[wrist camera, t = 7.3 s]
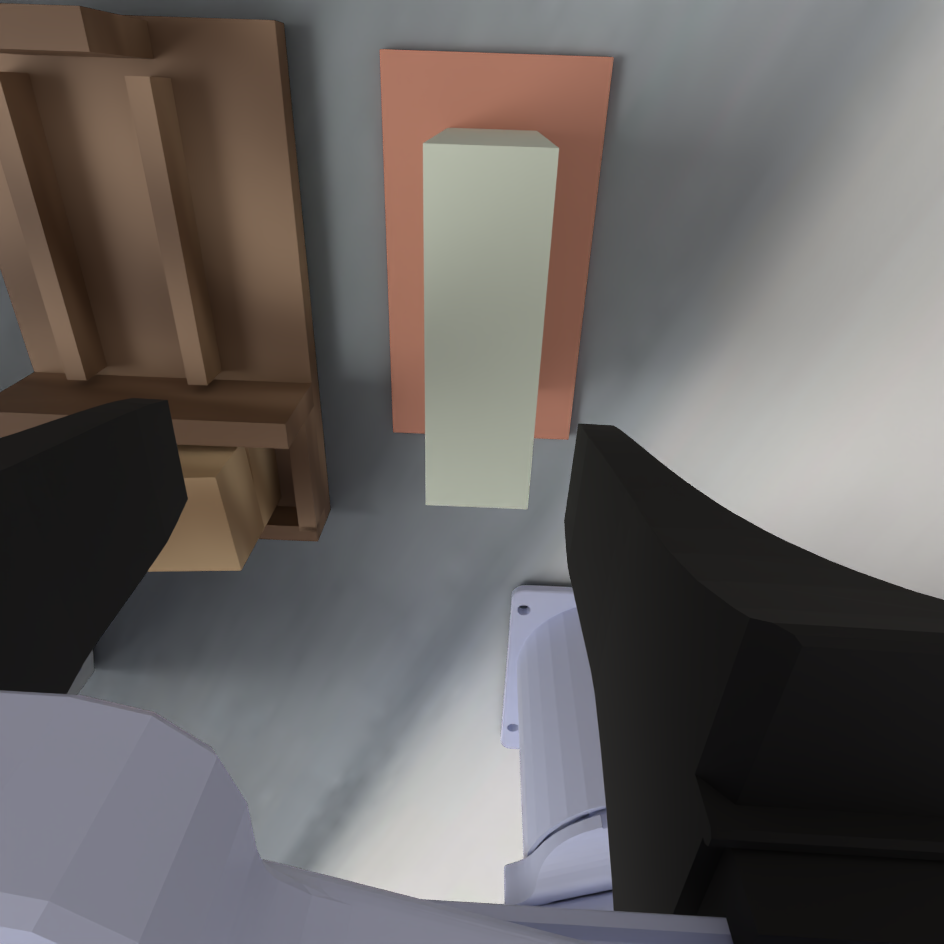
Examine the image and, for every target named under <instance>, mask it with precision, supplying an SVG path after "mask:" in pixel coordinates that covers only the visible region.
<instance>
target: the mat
mask: <svg viewBox="0 0 944 944" xmlns="http://www.w3.org/2000/svg"><path fill="white" fill-rule="evenodd" d="M613 58H614V57H594V56H565V55H535V54H506V53H477V52H447V51H418V50H388V49H380V72H381V100H382V129H383V157H384V186H385V214H386V243H387V271H388V300H389V328H390V357H391V385H392V414H393V432H397V433H421V434H425V359H424V231H423V143H424V142H426V141H427V140H429V139H431V138H432V137H434V136H435V135H437V134H439V133H440V132H442V131H443V130H445V129H447V128H474V129H503V130H532V131H538V132H539V133H541V134H542V135H543V136H544V137H546V138H547V139H548V140H549V141H551V142H552V143H553V144H555V145H556V146H557V147H558V148H559V156H558V167H557V179H556V190H555V201H554V213H553V224H552V236H551V247H550V259H549V270H548V282H547V293H546V305H545V316H544V327H543V339H542V350H541V362H540V373H539V385H538V396H537V408H536V419H535V431H534V438H542V439H567V440H568V438H569V430H570V422H571V413H572V405H573V396H574V388H575V379H576V371H577V362H578V354H579V345H580V337H581V329H582V320H583V312H584V303H585V295H586V286H587V278H588V269H589V261H590V253H591V244H592V236H593V227H594V219H595V210H596V202H597V193H598V185H599V176H600V168H601V160H602V151H603V143H604V134H605V126H606V117H607V109H608V100H609V92H610V83H611V75H612V67H613Z"/></svg>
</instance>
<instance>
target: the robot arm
mask: <svg viewBox="0 0 944 944" xmlns="http://www.w3.org/2000/svg"><path fill="white" fill-rule="evenodd" d="M187 500H188V497H187V492H186V487H185V482H184V477H183V472H182V467H181V462H180V457H179V453H178V448H177V443H176V438H175V433H174V428H173V423H172V418H171V413H170V409H169V404H168V400H161V399H144V398H129V399H123V400H118V401H114V402H110V403H106V404H103V405H99V406H96V407H93V408H90V409H86V410H83V411H80V412H77V413H74V414H71V415H68V416H65V417H62V418H59V419H56V420H53V421H50V422H47V423H44V424H41V425H38V426H35V427H32V428H29V429H26V430H23V431H21V432H18V433H15V434H11V435H8V436H5V437H2V438H0V944H944V600H942V599H939V598H935V597H932V596H928V595H925V594H921V593H918V592H915V591H912V590H908V589H905V588H903V587H900V586H897V585H894V584H891V583H888V582H885V581H883V580H880V579H877V578H874V577H871V576H868V575H866V574H863V573H860V572H857V571H855V570H852V569H850V568H847V567H845V566H842V565H839V564H837V563H834V562H832V561H829V560H827V559H825V558H822V557H820V556H818V555H816V554H813V553H811V552H809V551H807V550H805V549H802V548H800V547H798V546H796V545H793V544H791V543H789V542H787V541H785V540H783V539H781V538H779V537H777V536H775V535H773V534H771V533H769V532H767V531H765V530H763V529H761V528H759V527H758V526H756V525H754V524H752V523H750V522H749V521H747V520H745V519H743V518H741V517H740V516H738V515H736V514H734V513H732V512H731V511H729V510H728V509H726V508H724V507H723V506H721V505H719V504H718V503H716V502H715V501H713V500H712V499H710V498H709V497H707V496H706V495H704V494H703V493H702V492H700V491H699V490H697V489H696V488H694V487H693V486H691V485H690V484H689V483H687V482H686V481H684V480H683V479H682V478H680V477H679V476H678V475H676V474H675V473H674V472H672V471H671V470H670V469H668V468H667V467H666V466H665V465H663V464H662V463H661V462H660V461H658V460H657V459H656V458H655V457H653V456H652V455H651V454H650V453H648V452H647V451H646V450H645V449H644V448H642V447H641V446H640V445H639V444H637V443H636V442H635V441H634V440H633V439H631V438H630V437H629V436H628V435H626V434H625V433H624V432H622V431H621V430H620V429H618V428H617V427H615V426H611V425H594V424H578V431H577V437H576V444H575V451H574V458H573V465H572V472H571V479H570V485H569V492H568V499H567V506H566V513H565V520H564V523H565V538H566V552H567V563H568V570H569V575H570V579H571V584H572V587H560V586H537V585H521V586H518V587H516V588H515V589H514V590H513V592H512V599H511V612H510V624H509V637H508V649H507V662H506V675H505V687H504V700H503V712H502V725H501V744H502V745H503V746H504V747H506V748H510V749H520V775H521V802H522V829H523V856H524V859H522V860H520V861H518V862H514V863H511V864H507V865H506V866H505V867H504V890H505V904H490V903H474V902H457V901H441V900H424V899H418V898H414V897H410V896H406V895H402V894H398V893H394V892H391V891H387V890H383V889H379V888H375V887H371V886H367V885H363V884H359V883H355V882H352V881H348V880H344V879H340V878H336V877H332V876H328V875H324V874H320V873H316V872H312V871H309V870H305V869H301V868H297V867H293V866H289V865H285V864H281V863H277V862H273V861H268V860H264V859H261V857H260V855H259V853H258V850H257V847H256V843H255V838H254V833H253V828H252V823H251V819H250V814H249V809H248V804H247V802H246V800H245V799H244V797H243V795H242V794H241V792H240V791H239V789H238V787H237V786H236V784H235V783H234V781H233V780H232V778H231V776H230V775H229V773H228V772H227V770H226V768H225V767H224V765H223V764H222V762H221V761H220V759H219V757H218V756H217V754H216V753H215V751H214V750H213V748H212V747H210V746H209V745H207V744H206V743H204V742H202V741H201V740H199V739H197V738H196V737H194V736H193V735H191V734H189V733H188V732H186V731H184V730H183V729H181V728H180V727H178V726H176V725H175V724H173V723H172V722H170V721H168V720H167V719H165V718H163V717H162V716H160V715H159V714H157V713H155V712H153V711H148V710H144V709H140V708H135V707H131V706H127V705H122V704H118V703H114V702H109V701H105V700H100V699H96V698H92V697H87V696H83V695H70V694H67V693H68V691H69V689H70V687H71V686H72V684H73V682H74V680H75V678H76V676H77V675H78V673H79V671H80V669H81V667H82V666H83V664H84V662H85V661H86V659H87V657H88V656H89V654H90V653H91V651H92V650H93V648H94V647H95V645H96V643H97V642H98V640H99V639H100V637H101V636H102V635H103V633H104V632H105V630H106V629H107V628H108V626H109V625H110V623H111V622H112V621H113V619H114V618H115V616H116V615H117V614H118V612H119V611H120V609H121V608H122V607H123V605H124V604H125V602H126V601H127V600H128V598H129V597H130V595H131V594H132V593H133V591H134V590H135V588H136V587H137V585H138V584H139V583H140V581H141V580H142V578H143V577H144V576H145V574H146V573H147V571H148V570H149V568H150V567H151V566H152V564H153V563H154V561H155V560H156V558H157V557H158V555H159V554H160V552H161V551H162V549H163V548H164V546H165V545H166V543H167V542H168V540H169V538H170V536H171V534H172V532H173V530H174V528H175V526H176V524H177V522H178V520H179V518H180V515H181V513H182V511H183V509H184V507H185V504H186V502H187ZM522 605H526V606H528V607H527V608H524V609H523V608H519V607H520V606H522Z"/></svg>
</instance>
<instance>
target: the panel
mask: <svg viewBox="0 0 944 944" xmlns="http://www.w3.org/2000/svg"><path fill="white" fill-rule="evenodd" d="M558 156H559V148H558V147H557V146H556V145H555V144H553V143H552V142H551V141H549V140H548V139H547V138H546V137H544V136H543V135H542V134H541V133H539V132H538V131H532V130H503V129H474V128H447V129H445V130H443V131H442V132H440V133H439V134H437V135H435V136H434V137H432V138H431V139H429V140H427V141H426V142H424V143H423V231H424V359H425V486H426V505H437V506H460V507H484V508H508V509H528V499H529V488H530V476H531V465H532V453H533V442H534V431H535V419H536V408H537V396H538V385H539V373H540V362H541V350H542V339H543V327H544V316H545V305H546V293H547V282H548V270H549V259H550V247H551V236H552V224H553V213H554V201H555V190H556V179H557V167H558Z"/></svg>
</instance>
